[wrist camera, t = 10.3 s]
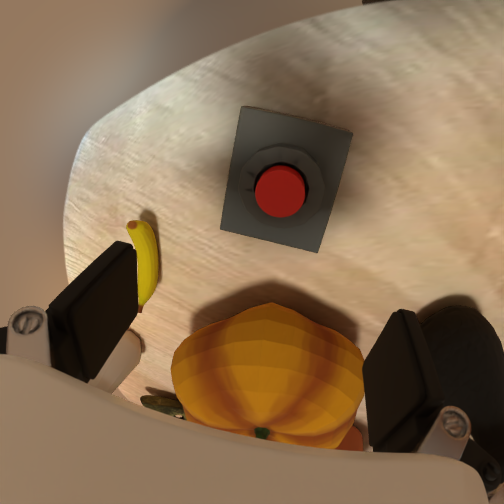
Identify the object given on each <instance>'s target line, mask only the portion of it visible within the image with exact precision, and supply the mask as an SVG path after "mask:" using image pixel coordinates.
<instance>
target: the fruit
mask: <svg viewBox="0 0 504 504" xmlns="http://www.w3.org/2000/svg"><path fill="white" fill-rule="evenodd" d="M126 228H127V231H128V233H129V235H130V237H131V239H132V241H133V243H134V246H135V249H136V252H137V260H138V297H139V309H138V313H142V309H143V306H144V304H145V303H146V302H147V301H148V300H149V299H150V297H151V296H152V295H153V293H154V291H155V289H156V286H157V281H158V250H157V243H156V239H155V235H154V232H153V230H152V228H151V226H150V225H149V224H148V223H146V222H144V221H139V220H133V221H129V222H128V223H127V225H126Z"/></svg>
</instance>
